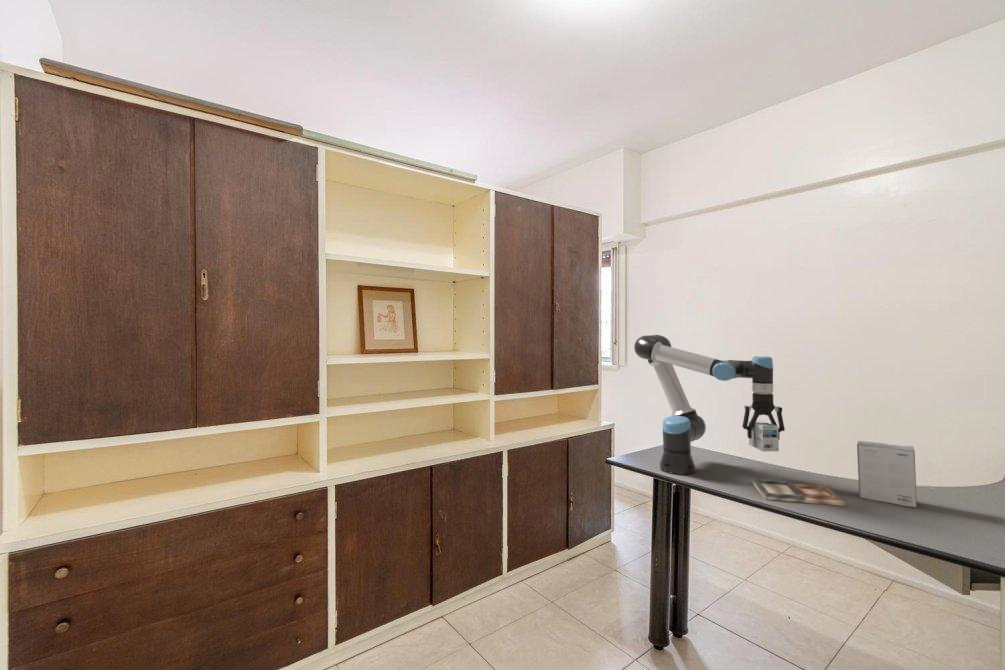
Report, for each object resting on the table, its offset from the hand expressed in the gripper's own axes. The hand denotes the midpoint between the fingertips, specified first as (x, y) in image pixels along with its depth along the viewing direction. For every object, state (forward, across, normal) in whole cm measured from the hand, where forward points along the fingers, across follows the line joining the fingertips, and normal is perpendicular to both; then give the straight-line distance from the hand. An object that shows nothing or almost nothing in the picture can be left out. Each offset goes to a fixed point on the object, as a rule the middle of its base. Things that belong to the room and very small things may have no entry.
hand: (763, 446), depth 177 cm
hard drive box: (+13, +35, -15) cm, 41 cm away
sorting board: (+13, +6, -17) cm, 23 cm away
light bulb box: (+1, 0, 0) cm, 1 cm away
